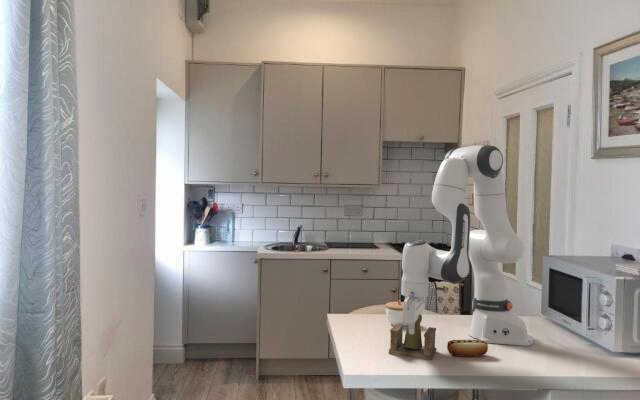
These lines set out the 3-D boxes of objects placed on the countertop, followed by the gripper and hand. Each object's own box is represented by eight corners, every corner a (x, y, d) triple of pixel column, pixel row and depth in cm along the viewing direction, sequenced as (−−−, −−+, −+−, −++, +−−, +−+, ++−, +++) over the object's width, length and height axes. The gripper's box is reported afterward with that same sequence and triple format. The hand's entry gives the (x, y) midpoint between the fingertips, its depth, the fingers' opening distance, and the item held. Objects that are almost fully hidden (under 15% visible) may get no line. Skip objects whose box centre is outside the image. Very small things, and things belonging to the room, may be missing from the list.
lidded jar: (396, 319, 211) (397, 296, 210) (417, 324, 203) (418, 301, 202) (379, 323, 203) (380, 300, 203) (400, 329, 195) (401, 305, 195)
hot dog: (490, 358, 165) (490, 343, 165) (449, 358, 164) (450, 342, 164) (484, 353, 170) (485, 338, 170) (445, 353, 169) (445, 338, 169)
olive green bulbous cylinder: (411, 349, 164) (412, 315, 164) (399, 344, 170) (401, 311, 170) (426, 347, 167) (427, 313, 167) (414, 342, 173) (415, 310, 173)
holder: (436, 351, 171) (437, 328, 170) (431, 360, 162) (432, 335, 162) (395, 345, 176) (395, 323, 176) (388, 353, 167) (389, 330, 167)
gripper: (418, 297, 157) (417, 341, 158) (429, 285, 176) (428, 324, 177) (398, 295, 160) (397, 338, 160) (411, 283, 179) (410, 322, 179)
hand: (413, 331), depth 169 cm, fingers closed on olive green bulbous cylinder, 4 cm apart
